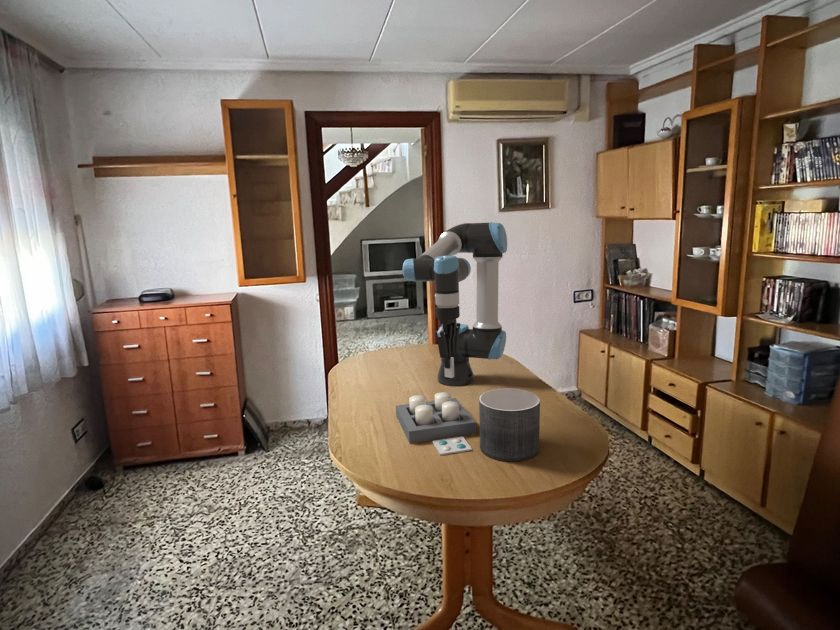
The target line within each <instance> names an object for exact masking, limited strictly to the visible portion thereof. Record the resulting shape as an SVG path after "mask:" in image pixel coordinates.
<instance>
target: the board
mask: <svg viewBox="0 0 840 630" xmlns="http://www.w3.org/2000/svg"><path fill="white" fill-rule="evenodd" d="M451 401H452V402H457V403H458V404H459V420H458V421H451V422H443V421H442V411H440V412H436V411H435V400H427V401H426V405H429V406H431V407H432V412H433V424H429V425H422V426H416V417H415V415H410V405H409V403H407V404H397V405H395V416H396V418H397V421H398V420H399V421H398V423H399V424H400V426H401V429H402V431H403V433H404V435H405V437H406V439H407V441H408V443H409V444H414V443H422V442H428V441H434V440H441V439H448V438H455V437H462V436H463V437H464V436H468V435H469V436H470V435H475V434H477V422H476V420H475V419H474V418H473V417H472V415H470V413H469V412H468V410H467V409H466V408H465V407H464V406H463V405H462V404H461V403H460V401H459V400H458V399H457V398H456V397H451Z"/></svg>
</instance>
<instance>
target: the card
mask: <svg viewBox="0 0 840 630" xmlns="http://www.w3.org/2000/svg"><path fill="white" fill-rule="evenodd" d="M431 441H432V444H433V445H434V448H435V449H436V451H437V453H438V454H439V456H446V455H451V454H457V453H465V452H470V451H473V448H472V446H471V445H470V444H469V443H468V442H467V440H466V439H465V437H464V435H463V436H456V437H450V438H443V439H436V440H431Z"/></svg>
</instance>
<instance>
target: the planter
mask: <svg viewBox="0 0 840 630" xmlns="http://www.w3.org/2000/svg"><path fill="white" fill-rule="evenodd" d="M478 404H479V405H478V409H479V411H478V412H479V413H478V414H479V415H478V417H479V418H478V419H479V448H480V450H481V452H482V453H483V454H484V455H485V456H487V457H489V458H491V459H494V460H497V461H503V462H522V461H527V460H530V459H531V458H534V457H535V456H537V455H538V454H539V451H540V421H541V420H540V418H541V398H540V397H539V396H538V394H536V393H534V392H532V391H529V390H525V389H520V388H511V387H509V388H496V389H490V390H488V391H485V392H483V393H481V394H480V396H479V397H478Z"/></svg>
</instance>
